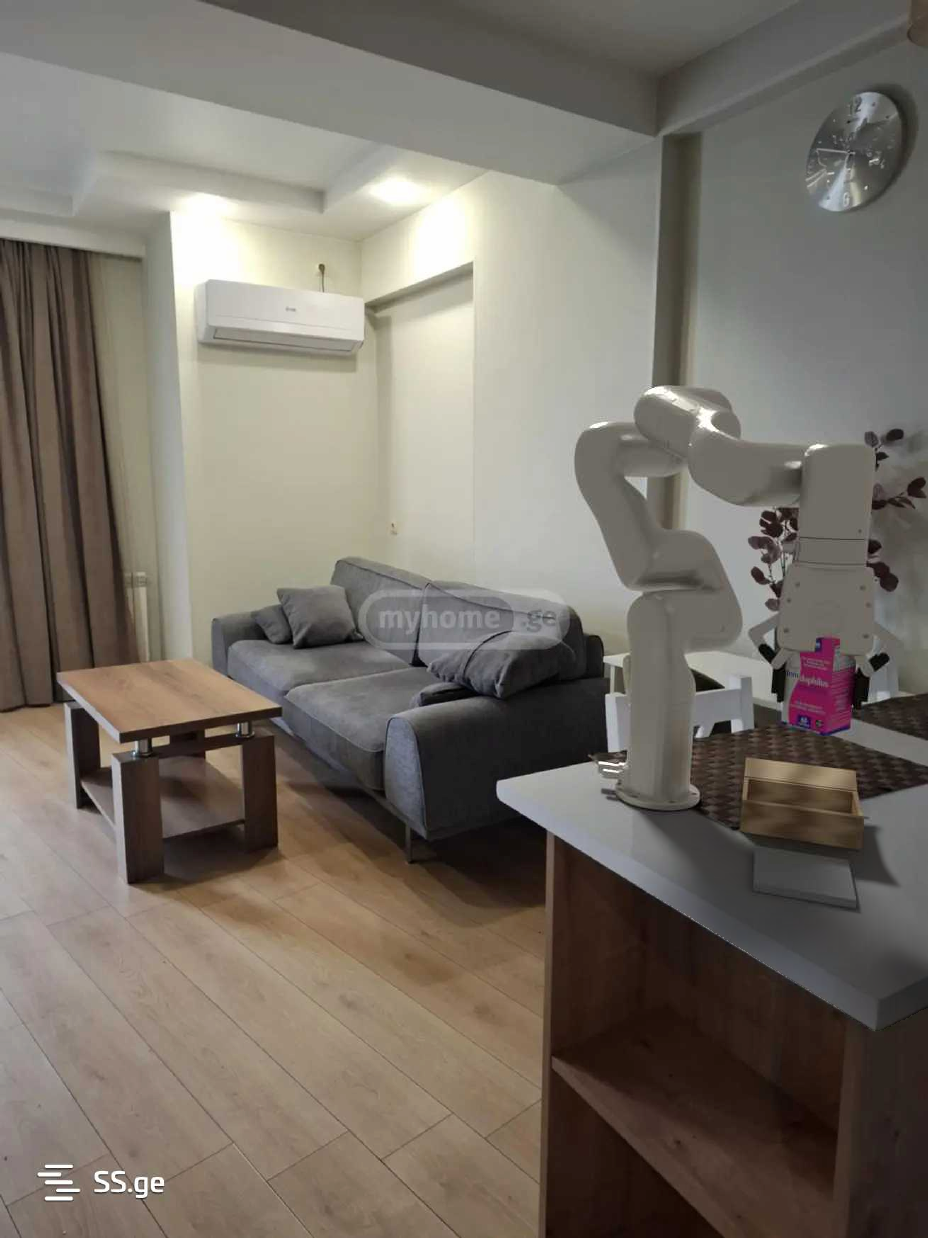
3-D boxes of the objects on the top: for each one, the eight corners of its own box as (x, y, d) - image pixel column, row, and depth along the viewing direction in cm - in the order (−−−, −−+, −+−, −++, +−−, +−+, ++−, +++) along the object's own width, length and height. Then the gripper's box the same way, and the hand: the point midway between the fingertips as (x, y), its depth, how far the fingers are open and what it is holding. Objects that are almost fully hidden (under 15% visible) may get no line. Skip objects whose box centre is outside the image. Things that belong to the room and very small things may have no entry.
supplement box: (778, 725, 99) (786, 630, 97) (806, 718, 102) (814, 626, 100) (825, 738, 94) (834, 638, 92) (852, 729, 98) (861, 633, 96)
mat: (752, 890, 98) (753, 882, 97) (754, 853, 108) (755, 845, 108) (855, 908, 94) (856, 900, 94) (847, 867, 104) (848, 860, 104)
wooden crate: (738, 843, 111) (741, 799, 110) (743, 795, 128) (746, 757, 127) (864, 863, 105) (869, 817, 104) (851, 810, 123) (855, 770, 122)
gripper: (749, 552, 94) (738, 703, 97) (922, 559, 89) (905, 720, 91) (750, 548, 101) (740, 689, 104) (910, 555, 95) (895, 704, 98)
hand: (817, 702), depth 98 cm, fingers closed on supplement box, 7 cm apart
